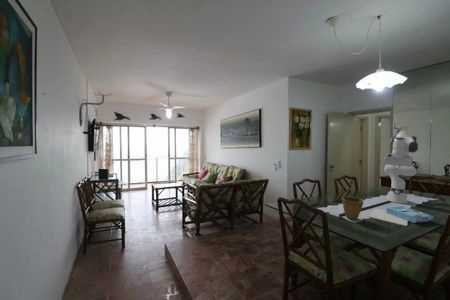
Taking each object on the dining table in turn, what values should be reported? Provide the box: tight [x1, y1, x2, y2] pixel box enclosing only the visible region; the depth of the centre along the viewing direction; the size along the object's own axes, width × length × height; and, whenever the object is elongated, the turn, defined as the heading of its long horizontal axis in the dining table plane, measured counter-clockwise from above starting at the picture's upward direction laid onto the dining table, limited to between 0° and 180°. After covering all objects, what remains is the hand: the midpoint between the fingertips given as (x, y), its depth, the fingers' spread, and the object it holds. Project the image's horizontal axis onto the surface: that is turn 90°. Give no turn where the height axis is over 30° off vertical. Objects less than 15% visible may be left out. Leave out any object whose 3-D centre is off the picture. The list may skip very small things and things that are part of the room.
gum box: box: [385, 205, 434, 224], centre depth 178 cm, size 19×5×23 cm
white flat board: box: [368, 208, 409, 227], centre depth 179 cm, size 28×24×1 cm
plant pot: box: [341, 196, 364, 221], centre depth 173 cm, size 15×15×16 cm
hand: (396, 170), depth 195 cm, fingers closed
